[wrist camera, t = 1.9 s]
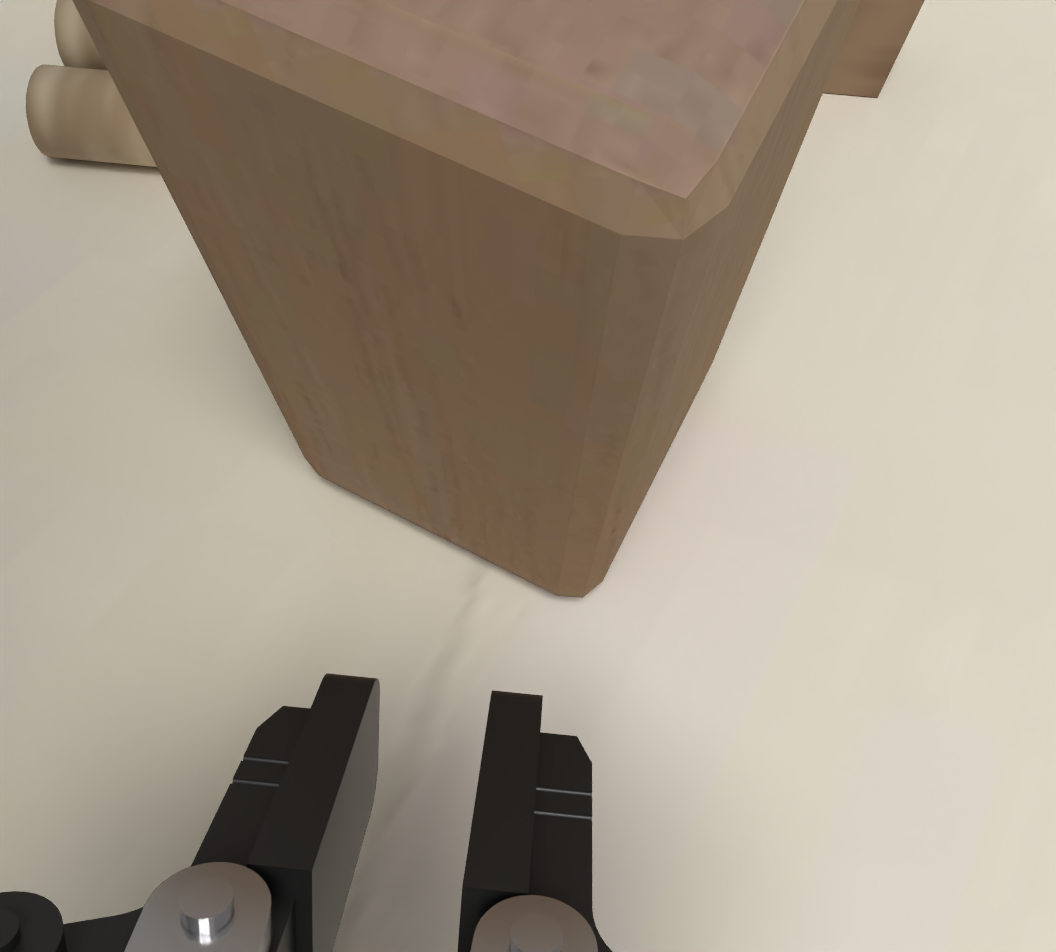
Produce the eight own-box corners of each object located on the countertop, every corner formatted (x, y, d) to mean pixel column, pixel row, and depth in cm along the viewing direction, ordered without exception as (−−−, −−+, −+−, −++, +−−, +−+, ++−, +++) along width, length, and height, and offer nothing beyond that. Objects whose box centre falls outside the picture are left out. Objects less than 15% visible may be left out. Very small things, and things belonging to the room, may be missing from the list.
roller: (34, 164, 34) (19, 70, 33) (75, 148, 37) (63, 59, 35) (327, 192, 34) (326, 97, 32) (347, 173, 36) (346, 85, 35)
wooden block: (452, 232, 35) (385, -500, 16) (718, 353, 33) (988, -299, 14) (297, 472, 31) (-13, -94, 13) (585, 618, 30) (711, 218, 11)
